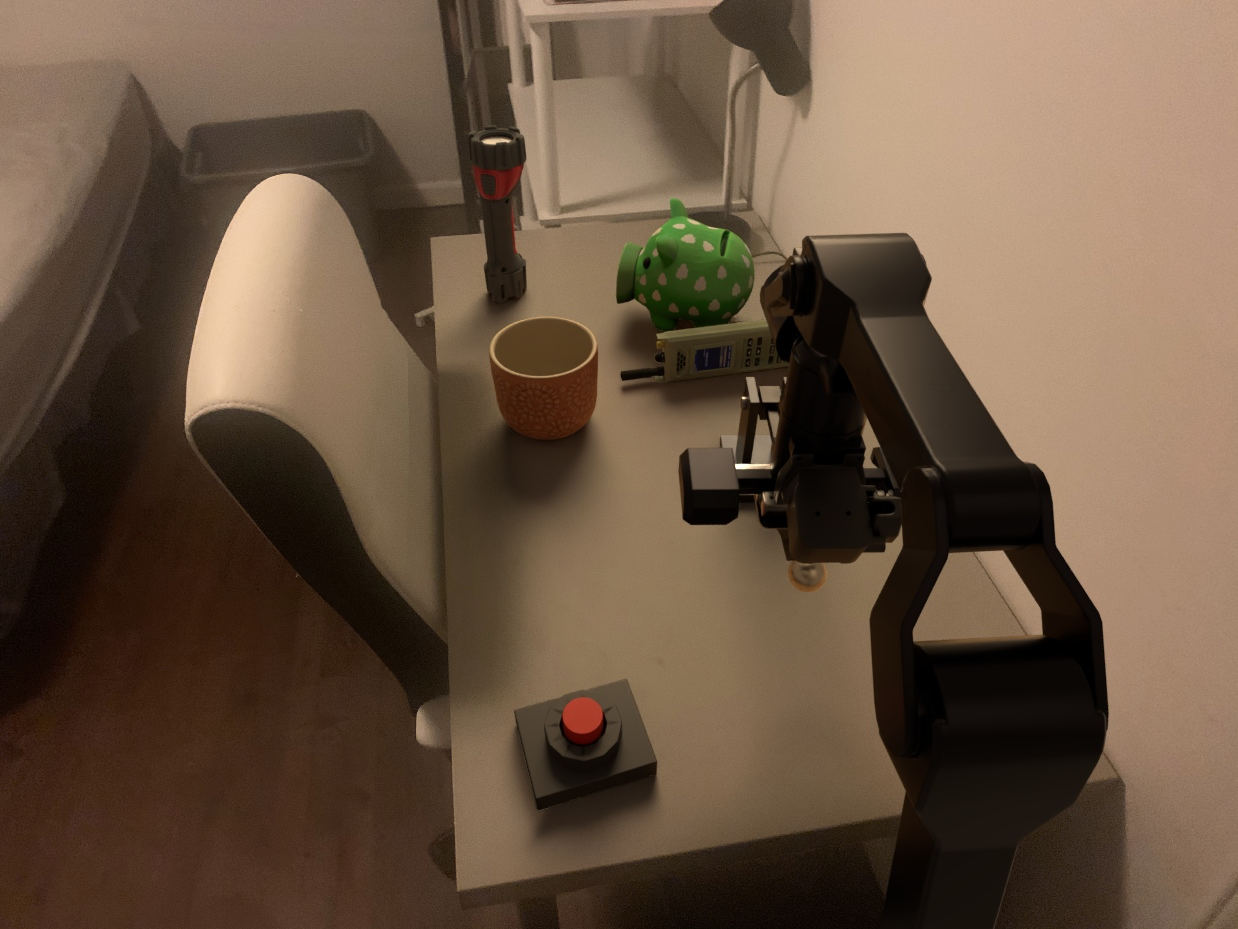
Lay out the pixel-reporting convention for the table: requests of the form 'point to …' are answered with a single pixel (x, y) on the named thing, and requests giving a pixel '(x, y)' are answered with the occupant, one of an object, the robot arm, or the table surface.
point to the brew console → (584, 747)
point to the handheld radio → (712, 352)
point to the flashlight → (499, 206)
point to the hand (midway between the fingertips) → (790, 556)
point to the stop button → (582, 721)
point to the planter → (545, 376)
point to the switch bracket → (749, 434)
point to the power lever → (769, 396)
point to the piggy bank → (687, 273)
